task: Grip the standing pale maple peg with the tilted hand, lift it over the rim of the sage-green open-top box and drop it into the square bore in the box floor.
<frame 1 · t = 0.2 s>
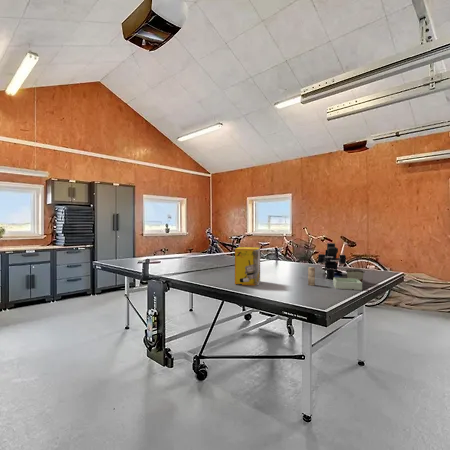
hand: (332, 260, 207), 17 cm above the table, tool horizontal, fingers open, 9 cm apart
food container: (354, 283, 213), on the table
open box: (347, 286, 201), on the table
packaging box: (247, 283, 214), on the table
maple peg: (311, 285, 207), on the table
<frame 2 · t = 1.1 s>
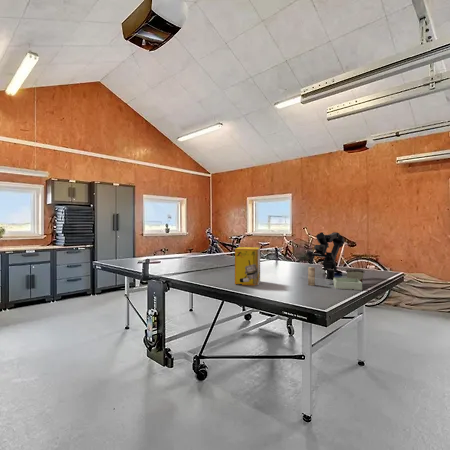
hand: (316, 264, 212), 14 cm above the table, tool tilted 45°, fingers open, 9 cm apart
nothing on the table moved.
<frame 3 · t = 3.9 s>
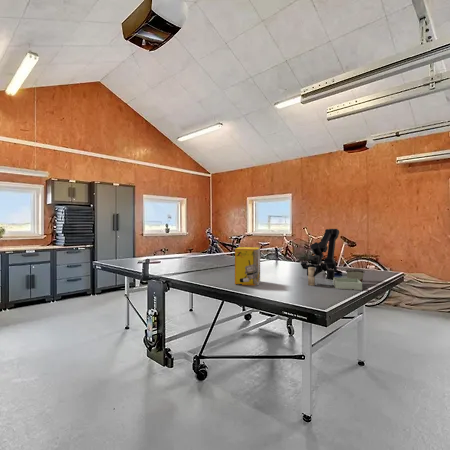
hand: (310, 275, 206), 7 cm above the table, tool tilted 45°, fingers closed on maple peg, 4 cm apart
maple peg: (311, 285, 207), on the table, touching gripper
everything else where it was.
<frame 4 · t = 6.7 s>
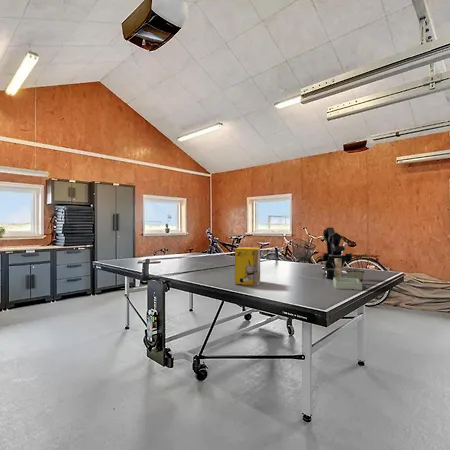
hand: (338, 267, 199), 13 cm above the table, tool tilted 45°, fingers closed on maple peg, 4 cm apart
maple peg: (338, 276, 201), point 7 cm above the table, touching gripper
everything else where it was.
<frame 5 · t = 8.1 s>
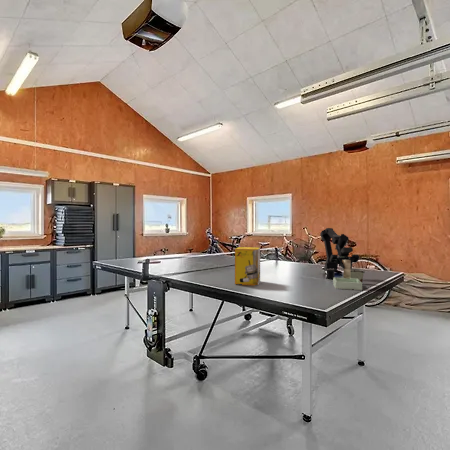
hand: (347, 268, 199), 13 cm above the table, tool tilted 45°, fingers closed on maple peg, 4 cm apart
maple peg: (346, 277, 201), point 6 cm above the table, touching gripper
everything else where it was.
when the fingers open (7 cm above the table, at t = 9.5 s): maple peg stays where it is, resting in open box.
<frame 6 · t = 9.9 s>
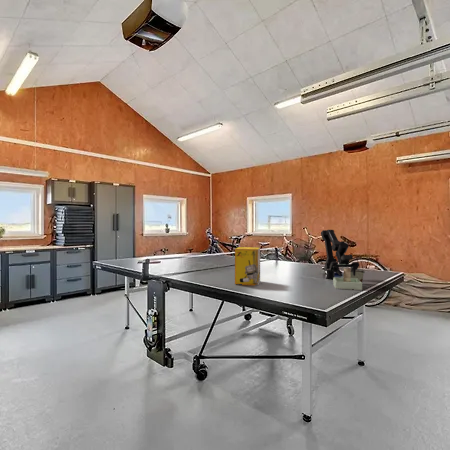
hand: (347, 275, 199), 8 cm above the table, tool tilted 45°, fingers open, 9 cm apart
maple peg: (347, 286, 201), resting in open box
everything else where it was.
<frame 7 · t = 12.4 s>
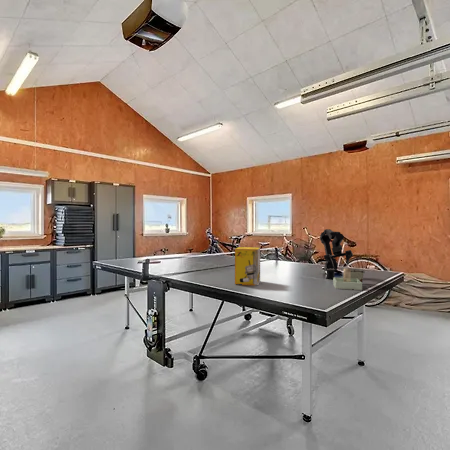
hand: (340, 266, 208), 13 cm above the table, tool tilted 30°, fingers open, 9 cm apart
nothing on the table moved.
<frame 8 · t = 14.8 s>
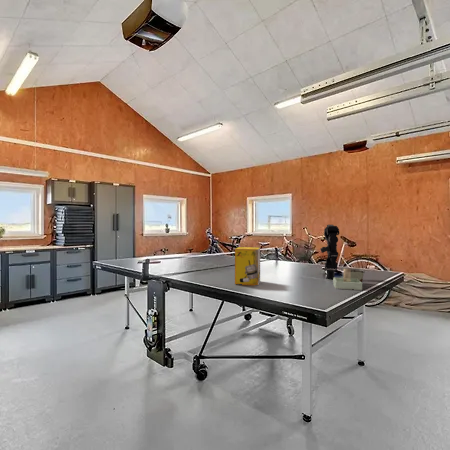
hand: (332, 264, 216), 13 cm above the table, tool pointing down, fingers open, 9 cm apart
nothing on the table moved.
at the end: maple peg 0.0 cm off-centre on the open box, point 0.0 cm above the open box's base; maple peg tilted 0°; the gripper is holding nothing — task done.
